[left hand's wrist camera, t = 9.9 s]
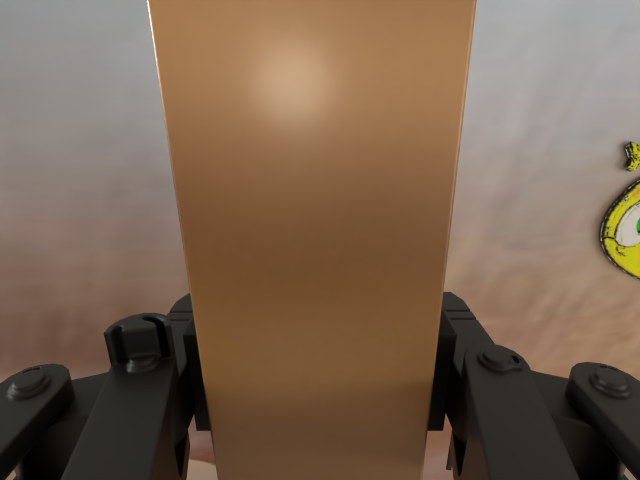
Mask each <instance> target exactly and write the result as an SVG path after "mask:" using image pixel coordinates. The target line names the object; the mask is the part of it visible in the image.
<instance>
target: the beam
mask: <svg viewBox="0 0 640 480" xmlns="http://www.w3.org/2000/svg"><path fill="white" fill-rule="evenodd" d="M476 1H477V0H147V5H148V12H149V19H150V26H151V32H152V39H153V46H154V52H155V59H156V66H157V73H158V79H159V86H160V93H161V100H162V106H163V113H164V120H165V127H166V133H167V140H168V147H169V153H170V160H171V167H172V174H173V180H174V187H175V194H176V201H177V207H178V214H179V221H180V227H181V234H182V241H183V248H184V254H185V261H186V268H187V275H188V281H189V288H190V295H191V301H192V308H193V315H194V322H195V328H196V335H197V342H198V349H199V355H200V362H201V369H202V376H203V382H204V389H205V396H206V402H207V409H208V416H209V423H210V429H211V436H212V443H213V450H214V456H215V463H216V470H217V476H218V480H422V474H423V465H424V457H425V448H426V439H427V430H428V422H429V413H430V404H431V395H432V386H433V378H434V369H435V360H436V351H437V343H438V334H439V325H440V316H441V308H442V299H443V290H444V281H445V273H446V264H447V255H448V246H449V238H450V229H451V220H452V211H453V203H454V194H455V185H456V176H457V167H458V159H459V150H460V141H461V132H462V124H463V115H464V106H465V97H466V89H467V80H468V71H469V62H470V54H471V45H472V36H473V27H474V19H475V10H476Z"/></svg>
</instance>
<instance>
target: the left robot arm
mask: <svg viewBox="0 0 640 480" xmlns="http://www.w3.org/2000/svg"><path fill="white" fill-rule="evenodd" d="M104 336H105V341H106V345H107V349H108V353H109V358H110V362H111V368H110V370H109V372H107V373H103V374H99V375H94V376H90V377H85V378H80V379H75V380H71V377H70V373H69V370H68V369H67V368H66V367H64V366H63V365H58V364H46V365H38V366H34V367H30V368H27V369H24V370H23V371H21V372H19V373H17V374H14V375H12V376H10V377H9V378H7V379H6V380H5V381H3V382H2V383H0V480H5V479H6V478H7V477H8V476H9V475H10V473H11V472H12V471H13V470H15V473H16V477H15V478H14V479H13V480H186V478H187V469H188V460H189V451H190V441H189V434H188V428H189V425H190V423H191V420H192V418H193V415H194V416H195V422H196V429H197V431H211V429H210V423H209V416H208V409H207V402H206V396H205V389H204V382H203V376H202V369H201V362H200V355H199V349H198V342H197V335H196V328H195V322H194V315H193V308H192V301H191V295H190V293H189V294H187V295H186V296H184V297H183V298H181V299H180V300H178V301H177V302H176V303H175V304H174V306H173V307H172V309H171V310H170V313H168V314H167V316H165V315H162V314H158V313H142V314H137V315H132V316H129V317H127V318H124V319H122V320H119V321H118V322H116V323H114V324H113V325H111V326H110V327H109V328H108V329H107V330H106V331H105V332H104ZM445 414H447V417H448V419H449V421H450V424H451V426H452V434H451V441H450V447H449V453H448V459H447V466H446V469H447V470H451V468H453V477H454V480H628V479H627V477H626V476H625V475H624V472H625V469H626V468H627V469H628V470H629V471H630V472H631V473H632V474H633V476H634V477H635V478H636V479H637V480H640V381H638V380H637V379H635V378H634V377H632V376H631V375H630V374H627V373H625V372H623V371H621V370H619V369H617V368H615V367H612V366H607V365H605V364H601V363H592V362H584V363H578V364H576V365H575V366H574V367H572V368H571V372H570V375H569V379H568V378H563V377H558V376H553V375H548V374H544V373H539V372H536V371H532V370H531V369H530V367H529V365H528V364H527V362H526V361H525V360H524V358H523V357H521V356H520V355H518V354H517V353H516V352H514V351H512V350H510V349H508V348H506V347H503V346H500V345H496V344H495V343H494V342H493V341H492V339H491V338H490V337H489V335H488V334H487V332H486V331H485V330H484V328H483V327H482V326H481V324H480V323H479V321H478V320H476V317H475V316H474V315H473V313H472V312H470V309H469V308H468V306H467V305H466V303H465V302H464V301H463V300H462V299H460V298H459V297H457V296H456V295H454V294H453V293H451V292H443V299H442V308H441V316H440V325H439V334H438V343H437V351H436V360H435V369H434V378H433V386H432V395H431V404H430V413H429V422H428V430H427V431H443V427H444V420H445Z"/></svg>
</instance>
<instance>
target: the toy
mask: <svg viewBox="0 0 640 480" xmlns="http://www.w3.org/2000/svg"><path fill="white" fill-rule="evenodd" d="M625 149H626V152H627V155H628V158H629V160H628V162H627V164H626V171H634V170H635V169H636V168H637V167H638V165H639V164H640V146H639V145H638V144H635V143H633V142H630V143H629V145H628V144H627V146H626V148H625ZM639 188H640V180H639V181H637V182H636V183H634V184H633V185H632V186H630V187H629V188H628V189H627V190H626V191H625V192H624V193H623V194H622V195H621V196H620V198H619V199H618V200H617V201H616V202H615V203H614V205H613V206H612V207H611V208H610V210H609V212H608V213H607V215H606V217H605V219H604V221H603V224H602V228H601V236H600V237H601V239H600V241H601V243H602V246H603V250H604V253H605V254H606V255H607V257H608V258H609V259H610V261H611V262H613V263H614V264H615V266H617V267H619V268H620V269H622V270H623V271H624V272H626V273H628V274H629V275H632V276H633V277H635V278H637V279H640V189H639ZM637 197H638V198H637ZM627 199H628V200H627ZM621 205H622V206H621ZM618 209H619V210H618ZM635 209H636V210H635ZM617 212H618V213H617ZM611 223H612V224H611ZM637 229H638V230H637ZM621 231H622V232H621ZM637 234H639V235H637ZM620 235H621V236H620ZM621 238H622V240H623V241H621ZM610 242H611V243H610ZM613 244H614V245H613ZM615 248H616V249H615ZM620 248H621V249H620ZM628 248H629V249H630V250H629V249H628ZM612 249H613V250H612ZM614 249H615V250H614ZM624 253H625V254H624ZM626 254H627V255H626ZM623 256H624V257H623ZM621 257H622V258H621ZM620 259H621V260H620ZM621 264H622V265H621Z"/></svg>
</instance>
